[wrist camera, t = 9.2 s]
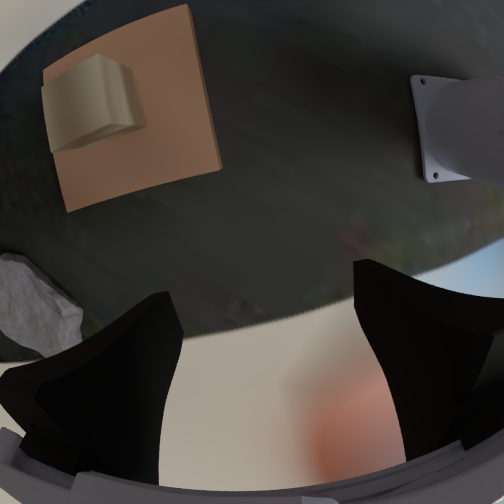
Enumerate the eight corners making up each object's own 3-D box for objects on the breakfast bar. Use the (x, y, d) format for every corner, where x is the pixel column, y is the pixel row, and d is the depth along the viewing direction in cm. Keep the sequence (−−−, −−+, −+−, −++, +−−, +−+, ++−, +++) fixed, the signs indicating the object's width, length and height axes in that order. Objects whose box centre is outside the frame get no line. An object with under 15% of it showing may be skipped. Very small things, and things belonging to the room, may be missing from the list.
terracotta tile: (193, 14, 14) (186, 3, 12) (223, 167, 18) (220, 170, 17) (57, 73, 15) (43, 70, 13) (81, 206, 19) (67, 212, 18)
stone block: (15, 237, 22) (9, 313, 24) (-13, 246, 17) (-13, 330, 19) (99, 281, 24) (85, 358, 26) (77, 300, 19) (68, 383, 21)
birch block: (136, 71, 14) (98, 53, 9) (147, 126, 15) (109, 123, 11) (86, 94, 14) (41, 87, 10) (96, 146, 16) (50, 152, 11)
